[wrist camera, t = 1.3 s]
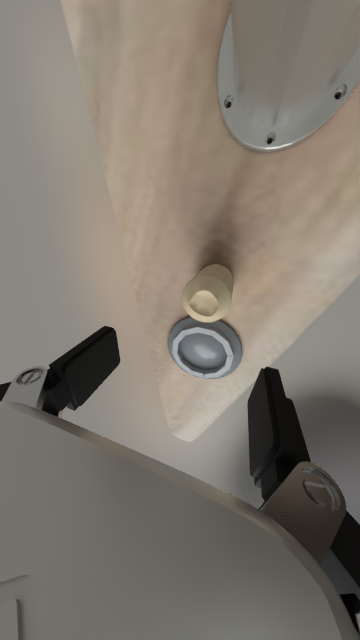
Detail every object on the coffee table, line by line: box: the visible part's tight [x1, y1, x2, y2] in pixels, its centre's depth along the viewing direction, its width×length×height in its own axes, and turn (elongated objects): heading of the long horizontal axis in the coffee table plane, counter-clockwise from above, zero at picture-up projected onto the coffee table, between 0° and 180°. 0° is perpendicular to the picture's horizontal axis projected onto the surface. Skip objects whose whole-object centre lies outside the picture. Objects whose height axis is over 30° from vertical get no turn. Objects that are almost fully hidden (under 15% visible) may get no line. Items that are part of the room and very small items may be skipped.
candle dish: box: [168, 317, 242, 379], centre depth 31 cm, size 14×14×2 cm
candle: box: [182, 264, 233, 322], centre depth 22 cm, size 6×6×10 cm
